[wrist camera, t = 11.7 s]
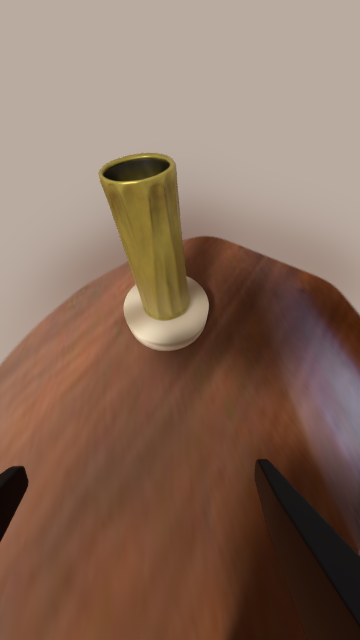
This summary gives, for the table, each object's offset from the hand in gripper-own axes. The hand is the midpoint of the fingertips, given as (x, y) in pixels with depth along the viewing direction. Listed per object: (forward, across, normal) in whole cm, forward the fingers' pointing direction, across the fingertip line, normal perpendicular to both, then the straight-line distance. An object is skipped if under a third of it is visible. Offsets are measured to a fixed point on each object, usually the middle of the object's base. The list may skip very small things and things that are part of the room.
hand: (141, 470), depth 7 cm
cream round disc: (+21, 0, -1) cm, 21 cm away
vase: (+19, 0, -3) cm, 19 cm away
